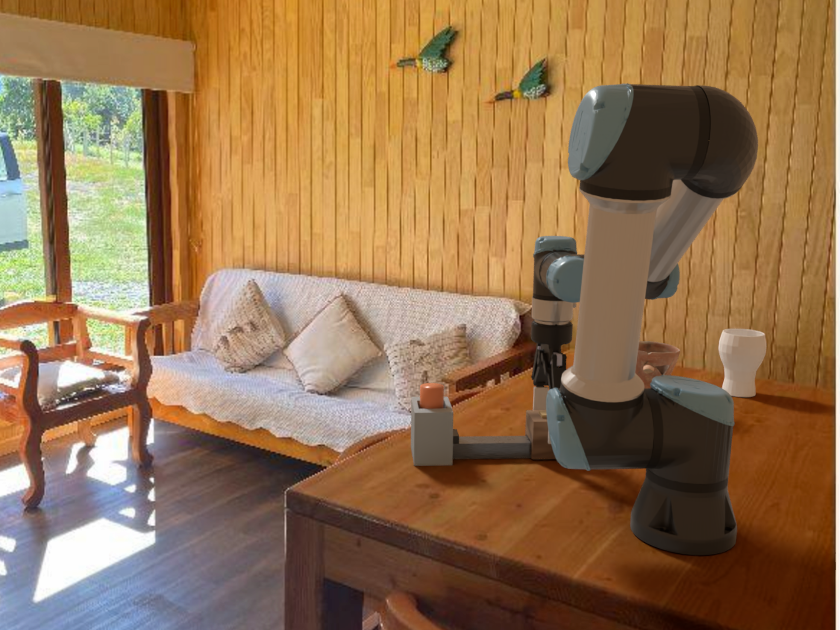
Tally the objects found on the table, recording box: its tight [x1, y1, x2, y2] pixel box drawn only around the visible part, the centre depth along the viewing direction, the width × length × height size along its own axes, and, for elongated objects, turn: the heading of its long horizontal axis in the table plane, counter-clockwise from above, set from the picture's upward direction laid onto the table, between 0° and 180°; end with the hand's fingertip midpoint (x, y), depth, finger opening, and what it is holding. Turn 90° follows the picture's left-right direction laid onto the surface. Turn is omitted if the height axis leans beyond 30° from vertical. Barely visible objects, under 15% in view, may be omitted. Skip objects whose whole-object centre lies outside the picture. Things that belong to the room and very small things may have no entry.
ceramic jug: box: [635, 340, 681, 388], centre depth 185 cm, size 18×14×14 cm
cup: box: [718, 328, 767, 398], centre depth 197 cm, size 11×11×15 cm
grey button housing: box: [410, 396, 454, 467], centre depth 153 cm, size 10×7×10 cm
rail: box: [453, 428, 532, 460], centre depth 154 cm, size 4×24×4 cm, turn 94°
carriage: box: [524, 409, 557, 460], centre depth 154 cm, size 7×7×8 cm
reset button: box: [419, 382, 445, 409], centre depth 152 cm, size 4×4×6 cm
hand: (547, 430), depth 155 cm, fingers open, 13 cm apart
